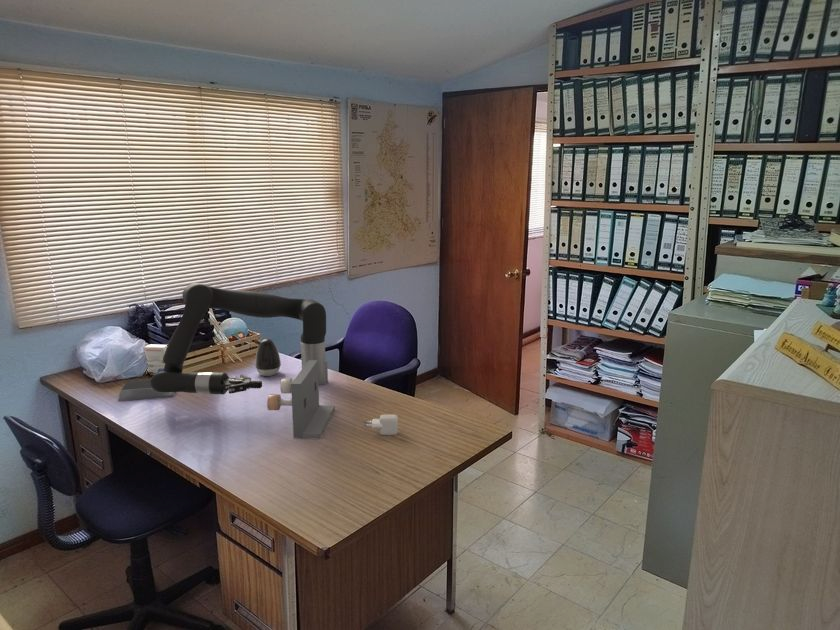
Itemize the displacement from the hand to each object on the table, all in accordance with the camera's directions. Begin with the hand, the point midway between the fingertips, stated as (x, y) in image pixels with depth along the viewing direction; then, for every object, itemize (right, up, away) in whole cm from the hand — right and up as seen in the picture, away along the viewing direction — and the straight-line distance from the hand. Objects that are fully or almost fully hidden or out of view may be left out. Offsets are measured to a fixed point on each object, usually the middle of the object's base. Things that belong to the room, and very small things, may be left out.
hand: (261, 384), depth 206 cm
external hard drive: (-48, -6, +21) cm, 52 cm away
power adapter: (+42, -14, -13) cm, 46 cm away
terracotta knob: (+12, -6, -14) cm, 20 cm away
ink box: (-54, 0, +43) cm, 69 cm away
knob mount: (+19, -12, -6) cm, 24 cm away
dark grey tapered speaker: (-8, -1, +42) cm, 43 cm away
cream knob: (+12, -3, 0) cm, 13 cm away
